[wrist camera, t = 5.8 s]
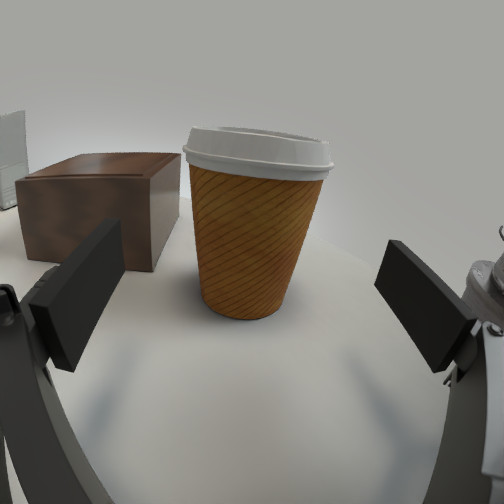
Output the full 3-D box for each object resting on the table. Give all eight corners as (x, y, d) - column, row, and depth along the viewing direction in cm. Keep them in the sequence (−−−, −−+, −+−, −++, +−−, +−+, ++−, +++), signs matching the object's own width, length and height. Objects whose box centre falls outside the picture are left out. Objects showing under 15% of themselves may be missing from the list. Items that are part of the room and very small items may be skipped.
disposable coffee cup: (290, 266, 27) (313, 137, 21) (315, 337, 18) (363, 153, 13) (187, 260, 26) (194, 124, 20) (171, 331, 17) (168, 130, 12)
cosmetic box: (33, 200, 37) (30, 108, 30) (-1, 212, 31) (-7, 115, 24) (21, 193, 40) (18, 113, 33) (-9, 204, 34) (-14, 119, 27)
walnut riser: (178, 215, 36) (181, 152, 32) (152, 272, 23) (150, 176, 20) (83, 211, 34) (80, 153, 30) (27, 259, 22) (14, 179, 18)
